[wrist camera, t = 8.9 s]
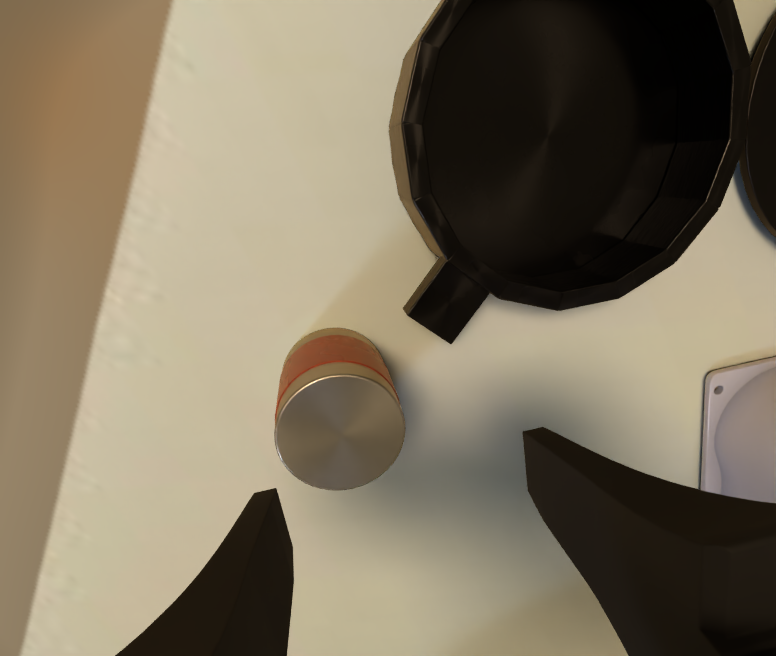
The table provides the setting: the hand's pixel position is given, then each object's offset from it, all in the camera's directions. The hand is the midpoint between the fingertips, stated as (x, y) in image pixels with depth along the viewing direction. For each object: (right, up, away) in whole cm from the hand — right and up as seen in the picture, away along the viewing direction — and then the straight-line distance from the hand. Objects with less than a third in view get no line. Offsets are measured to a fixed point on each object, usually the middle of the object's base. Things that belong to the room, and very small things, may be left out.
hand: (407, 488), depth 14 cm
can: (-3, +2, +9) cm, 10 cm away
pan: (+6, +13, +8) cm, 16 cm away
